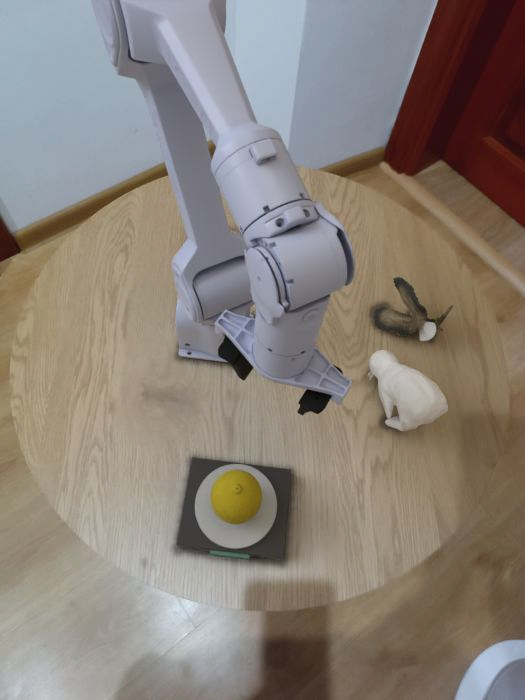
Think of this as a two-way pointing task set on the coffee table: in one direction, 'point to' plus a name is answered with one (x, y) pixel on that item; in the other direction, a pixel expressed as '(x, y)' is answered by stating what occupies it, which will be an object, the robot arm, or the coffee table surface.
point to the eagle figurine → (412, 322)
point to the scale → (235, 539)
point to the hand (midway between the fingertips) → (275, 389)
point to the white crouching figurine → (405, 392)
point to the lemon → (236, 496)
